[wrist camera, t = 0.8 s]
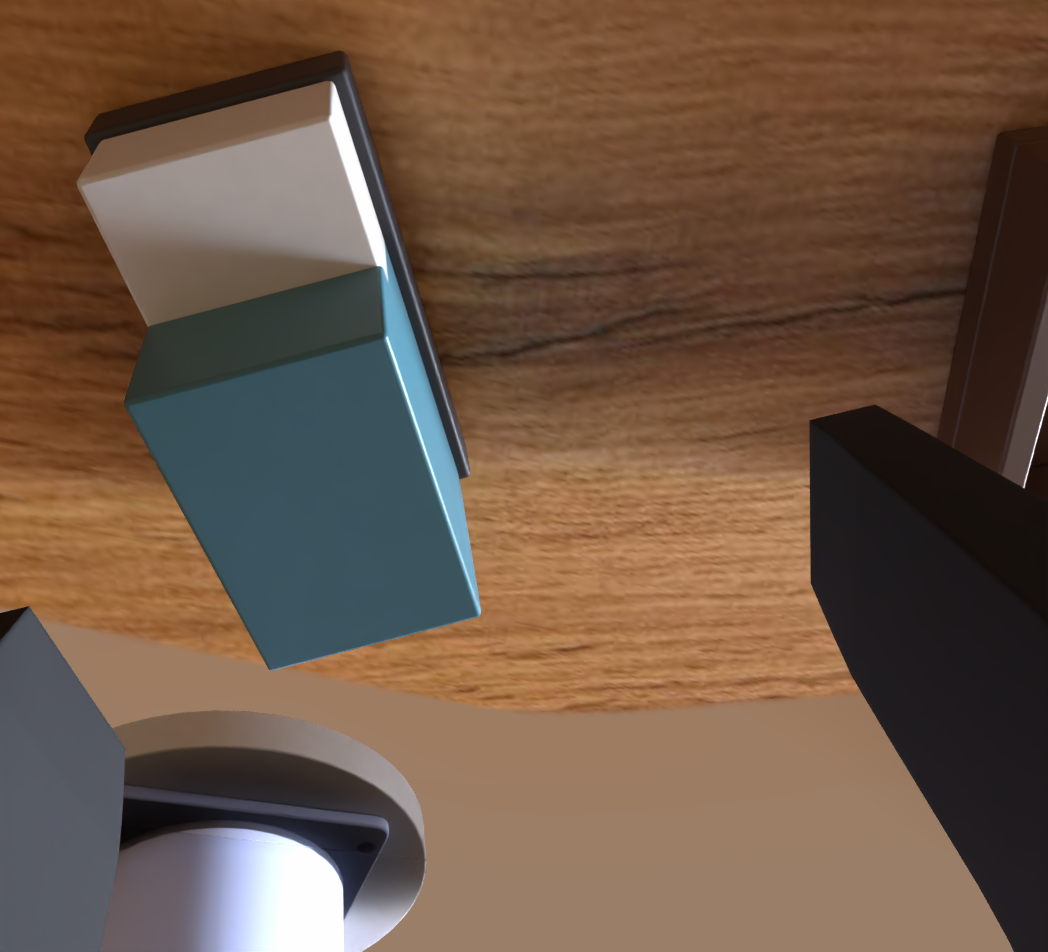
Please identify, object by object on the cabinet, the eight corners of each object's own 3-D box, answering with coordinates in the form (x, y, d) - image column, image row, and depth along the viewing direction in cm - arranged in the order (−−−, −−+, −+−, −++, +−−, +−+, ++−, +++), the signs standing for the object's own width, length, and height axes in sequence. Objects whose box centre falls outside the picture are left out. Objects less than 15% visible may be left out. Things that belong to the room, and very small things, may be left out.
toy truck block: (466, 445, 18) (497, 619, 14) (274, 495, 18) (258, 681, 14) (345, 47, 14) (347, 153, 10) (94, 114, 14) (10, 242, 10)
